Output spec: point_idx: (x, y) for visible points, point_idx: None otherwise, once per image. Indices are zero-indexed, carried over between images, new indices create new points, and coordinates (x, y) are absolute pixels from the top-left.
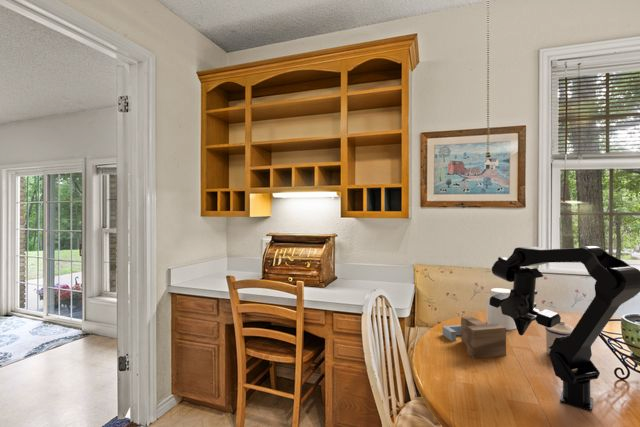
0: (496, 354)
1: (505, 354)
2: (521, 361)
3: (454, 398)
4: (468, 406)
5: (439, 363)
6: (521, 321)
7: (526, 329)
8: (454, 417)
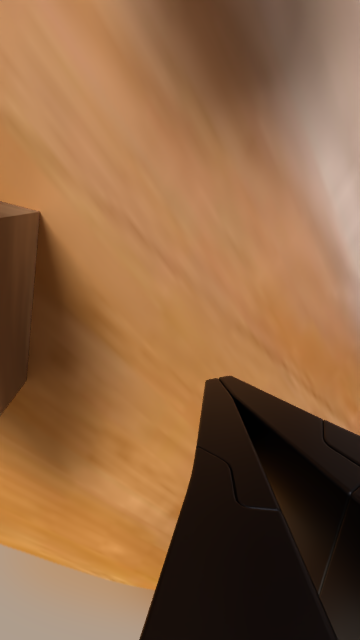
0: (31, 274)
1: (37, 217)
2: (131, 206)
3: None
4: None
5: (29, 501)
6: (327, 613)
7: (272, 397)
8: None
